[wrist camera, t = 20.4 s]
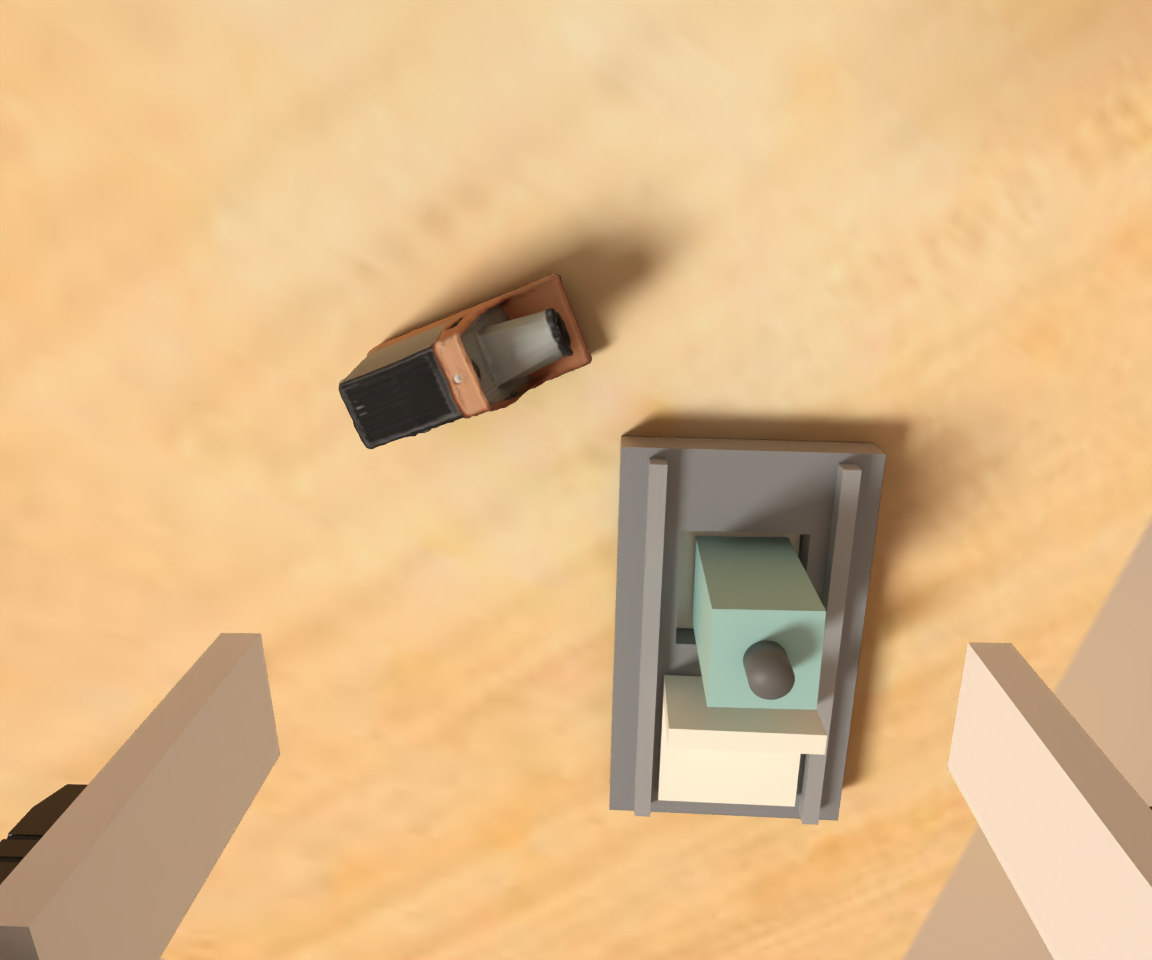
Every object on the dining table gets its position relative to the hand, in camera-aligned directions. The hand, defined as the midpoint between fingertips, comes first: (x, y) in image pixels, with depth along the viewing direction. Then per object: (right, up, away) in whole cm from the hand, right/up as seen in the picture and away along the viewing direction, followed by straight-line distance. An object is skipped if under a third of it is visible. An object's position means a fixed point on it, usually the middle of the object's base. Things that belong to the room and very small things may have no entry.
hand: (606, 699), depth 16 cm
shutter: (+7, -9, +27) cm, 29 cm away
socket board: (+7, -3, +27) cm, 29 cm away
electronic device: (-5, +10, +24) cm, 27 cm away
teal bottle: (+8, -1, +26) cm, 27 cm away
